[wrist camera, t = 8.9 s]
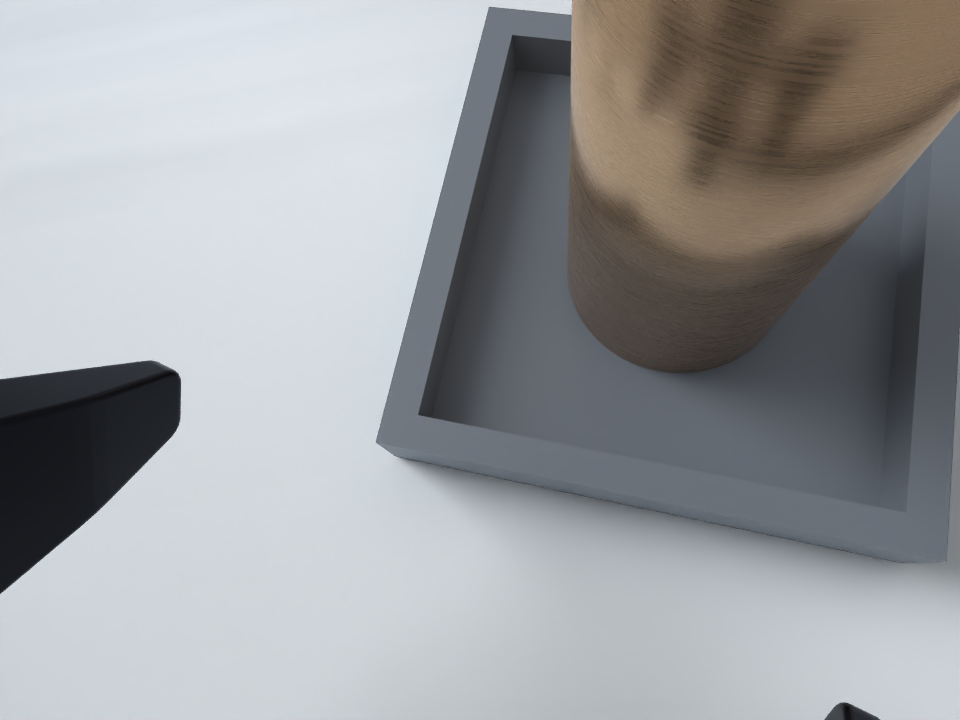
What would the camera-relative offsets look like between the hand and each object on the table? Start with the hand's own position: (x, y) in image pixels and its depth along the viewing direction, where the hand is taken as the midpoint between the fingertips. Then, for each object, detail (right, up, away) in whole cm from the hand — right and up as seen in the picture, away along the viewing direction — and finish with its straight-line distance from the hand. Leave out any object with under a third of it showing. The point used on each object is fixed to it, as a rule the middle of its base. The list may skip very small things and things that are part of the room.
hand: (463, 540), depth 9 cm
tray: (+5, +4, +10) cm, 12 cm away
